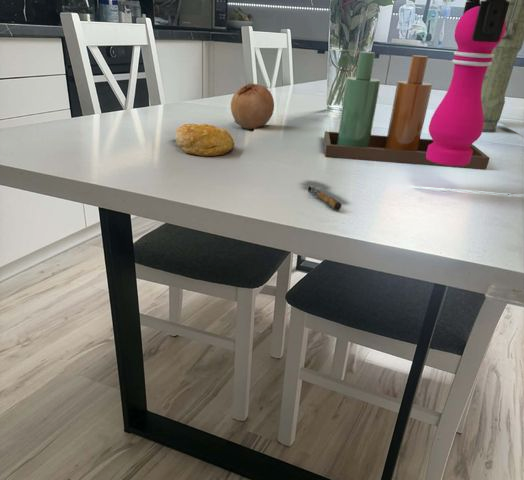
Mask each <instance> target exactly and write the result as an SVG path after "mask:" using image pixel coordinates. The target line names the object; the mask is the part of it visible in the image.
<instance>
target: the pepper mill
mask: <svg viewBox="0 0 524 480" xmlns="http://www.w3.org/2000/svg"><path fill="white" fill-rule="evenodd" d="M481 1H485V0H480V3H481ZM479 7H480V6H477V7H474V8H471V9H470V10H468V11H466V12H465V13H464V14H463V13H462V15H461V16H460V18H459V19H458V20H457V22H456V26H455V29H454V41H455V43H456V46H457V50H455V51H454V52H453V59H452V60H451V63H452V64H454V66H453V74H452V77H451V81H450V85H449V87H448V89H447V92H446V93H445V95H444V96H443V98H442V100H441V102H440V103H439V105H438V106H437V107H436V109H435V110H434V111H433V114H432V116H431V118H430V121H429V125H428V133H429V136H430V138H431V139H432V140H433V143H431V144H429V145H428V149H427V153H426V158H427V160H429V161H431V162H434V163H439V164H444V165H466V164H469V163H470V160H471V156H472V153H473V150H472V149H471V148H470V145H471V144H474V143H475V142H476V141H477V140H478V139H479V138H480V137H481V136H482V134H483V132H482V130H483V125H484V115H483V108H482V101H481V89H482V84H483V79H484V76H485V73H486V70H487V68H488V66H490V65H492V62H491V61H492V58H493V57H494V54H493V53H492V51H493V49H494V48H495V47H496V46H497V45H498V44H499V43H500V42H501V40H502V38H503V36H504V33H505V29H506V20H505V22H504V25H503V29H502V33H501V37H500V40H499V41H498V42H479V41H473V40H472V36H473V32H474V28H475V24H476V19H477V15H478V11H479Z"/></svg>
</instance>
